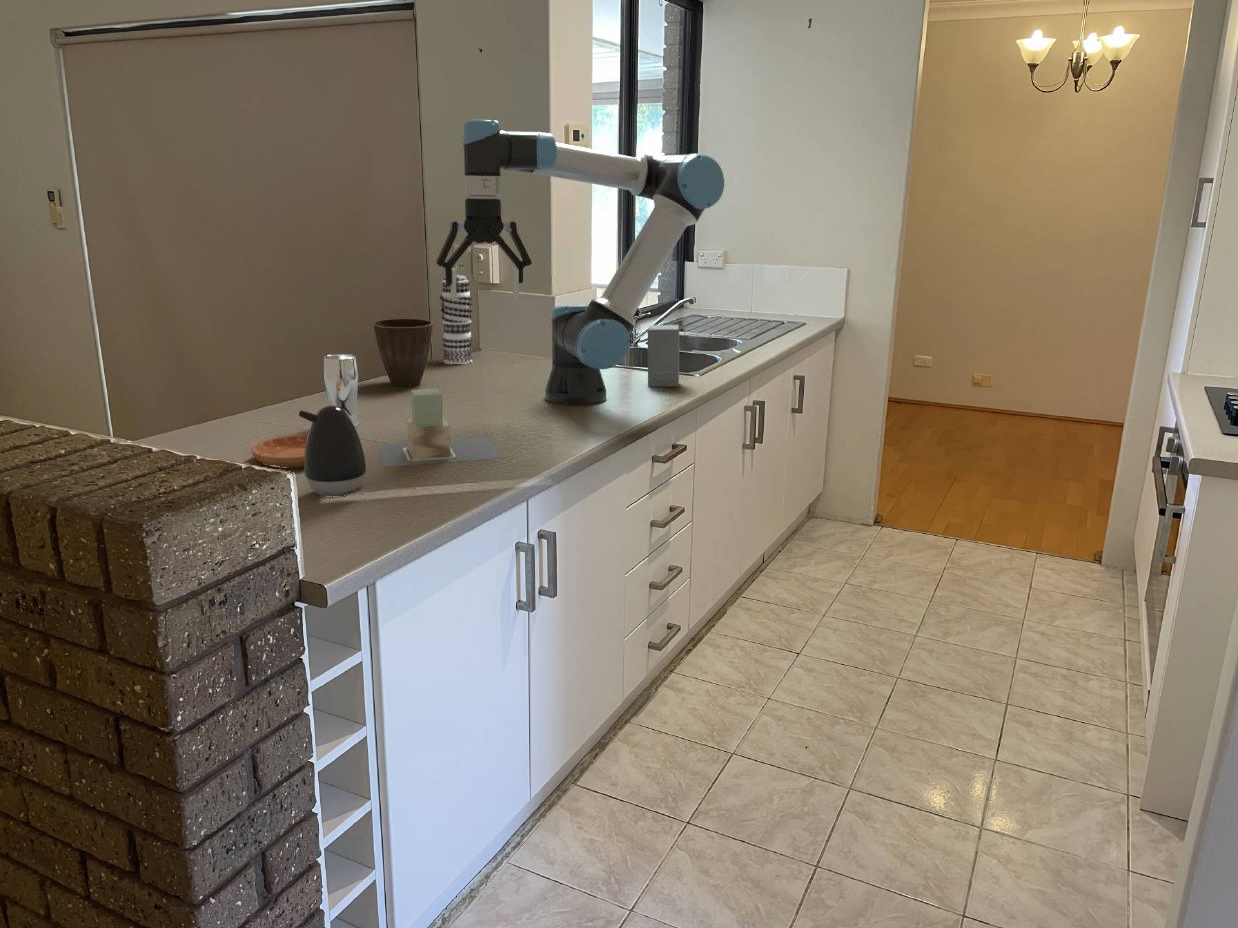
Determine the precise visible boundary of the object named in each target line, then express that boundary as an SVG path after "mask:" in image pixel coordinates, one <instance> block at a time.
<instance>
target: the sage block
mask: <svg viewBox="0 0 1238 928" xmlns="http://www.w3.org/2000/svg"><path fill="white" fill-rule="evenodd" d="M410 391H411V392H410V393H411V411H412V413H411V414H412V416H411V417H412V419H413V422H414V424H415V426H416V427H425V426H441V425H443V418H444V415H443V394H442V392H441V391H440V390H439V388H427V389H426V388H424V389H411V390H410Z"/></svg>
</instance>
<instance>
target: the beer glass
mask: <svg viewBox="0 0 1238 928" xmlns="http://www.w3.org/2000/svg"><path fill="white" fill-rule="evenodd" d="M357 362H358V361H357V356H356V355H354V354H349V353H335V354H327V355H325V356H324V357H323V375H324V376H323V378H324V385H325V390H326V395H327V398H328V402H329V406H338V407H340V408H342V409H343V410H344V411H345V412H346V413H347V414H348V415H349V417H350V418H351V420H352V422H353V424H354V426H355V428H356V427H358V425H360V422H359V417H358V413H357V397H358V392H359V390H358V389H359V371H358V363H357Z"/></svg>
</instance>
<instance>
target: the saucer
mask: <svg viewBox="0 0 1238 928" xmlns="http://www.w3.org/2000/svg"><path fill="white" fill-rule="evenodd" d="M307 436H308V434H291V435H284V436H278V437H272V438H270V439H268V438H267V439H265V440H262V441H260V442H258V443H256V444H255V445H254V446H252V448H251V453H252V456H253V458H255V459H256V460H257V461H258V462H260V463H261V462H262V463H261V464H263V463H264V464H267V465H276V466H280V468H279V467H276V468H275V469H283V468H282V467H287V468H286V469H297V468H296V467H304V453H305V446H306V441H307ZM267 454H272V455H269V456H267ZM264 464H263V465H264Z"/></svg>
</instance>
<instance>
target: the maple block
mask: <svg viewBox="0 0 1238 928" xmlns="http://www.w3.org/2000/svg"><path fill="white" fill-rule="evenodd" d="M406 422H407V424H406V425H407V442H408V449H409V452H410V454H411V456H412V458H413V459H426V458H440V457H450V439H451V437H450V436H451V433H450V431H451V429H450V425H449V423H448V422H447V420H446V419H445V417H443V425H441V426H425V427H416V426H415V424H414V422H413V418H412V419H406Z"/></svg>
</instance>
